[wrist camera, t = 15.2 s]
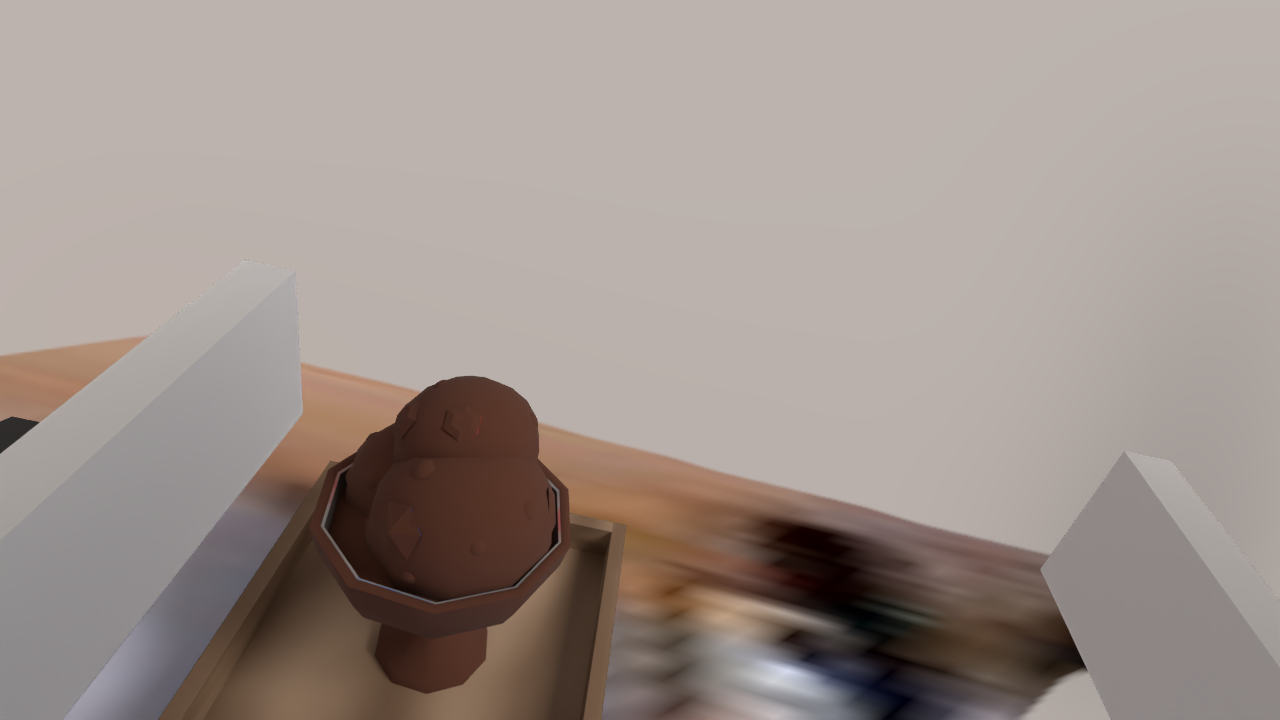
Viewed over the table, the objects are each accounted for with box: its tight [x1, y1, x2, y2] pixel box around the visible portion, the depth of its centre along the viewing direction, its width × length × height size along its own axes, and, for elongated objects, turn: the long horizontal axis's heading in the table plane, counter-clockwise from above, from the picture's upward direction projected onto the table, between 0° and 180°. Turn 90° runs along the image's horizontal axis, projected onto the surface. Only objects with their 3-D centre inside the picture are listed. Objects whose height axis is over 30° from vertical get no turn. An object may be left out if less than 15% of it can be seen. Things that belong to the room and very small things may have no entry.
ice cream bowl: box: [309, 376, 571, 694], centre depth 34 cm, size 11×11×15 cm
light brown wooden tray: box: [159, 461, 626, 720], centre depth 38 cm, size 18×18×3 cm
